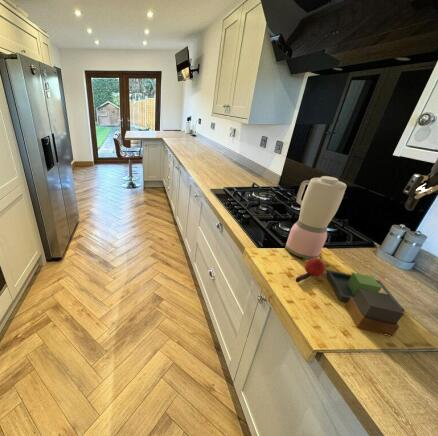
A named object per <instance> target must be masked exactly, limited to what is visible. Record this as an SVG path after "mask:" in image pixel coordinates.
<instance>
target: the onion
mask: <svg viewBox="0 0 438 436" xmlns="http://www.w3.org/2000/svg"><path fill="white" fill-rule="evenodd" d="M321 259H322V258H321V257H320V256H319V257H317V258H316V259H310V260H309V261H305V262H306V263H304V269H305V272H306V273H310V274H311V277H320V276H322V275H323V274H325V271H326V268H325V267H326V265H325V263H324V261H323V260H321Z"/></svg>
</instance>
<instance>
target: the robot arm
mask: <svg viewBox="0 0 438 436" xmlns="http://www.w3.org/2000/svg"><path fill="white" fill-rule="evenodd" d="M424 181H425V183H424ZM421 184H422V185H421ZM402 193H403V194H405V195H407V196H408V198H407V200H406V201H405V203H404V207H405V209H406V210H407V211H412V212H413V211H414V210H415V208H416V206H417V204H418V203H419V201H420V199H421V198H423V197H424V196H427V195H430V194H432V193H435V194H438V158H437V159H436V161H435V162H434V164H433V165H432V167H431V171H430V173H429V174H428V175H422V174H419V173H414V174H413V175H412V176H411V177H410V179H409V181H408V182H407V184H406V186H405V188H404V189H403V190H402Z"/></svg>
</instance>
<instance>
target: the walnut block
mask: <svg viewBox="0 0 438 436" xmlns="http://www.w3.org/2000/svg"><path fill="white" fill-rule="evenodd" d="M345 309H346V310H347V313H348V315H349V316H350V318H351V320H352V322H353V323H354V325H355V327H356V329H360V330H364V329H365V330H364V331H368V330H369V331H368V332H372V331H374V332H373V333H376V332H377V333H376V334H379V333H382V334H381V335H383V334H387V335H390V336H389V337H391V336H392V337H393V336H394V335H395V334H396V333H397V331H398V330H399V328H400V327H401V326H400V325H399V322H398V323H397V324H393V323H389V322H385V321H381V320H377V319H372V318H368V317H365V316H364V315H363V313H362V312H361V310H360V308H359V307H358V305H357V303H356V302H355V300H354V298H352V297H351V298H350V299H349V301H348V303H346V305H345ZM387 335H386V336H387Z"/></svg>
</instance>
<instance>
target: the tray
mask: <svg viewBox="0 0 438 436" xmlns="http://www.w3.org/2000/svg"><path fill="white" fill-rule="evenodd" d="M351 275H352V274H348V273H343V272H339V271H335V270H334V271H333V270H329V269H328V270H326V272H325V277H326V276H327V277H326V278H327V280H328V282H329V284H330V286H331V288H332V290H333V292H334V294H335V295H336V297H337V299H338V301H339V302H343V303H346V304H347V303H348V301H349V299H350V298H351V297H352V298H354V297H355V295H353V293H352V292H351V290H350V289H349V287H348V285H347V283H348V281H349V279H350V277H351ZM375 280H376V281H377V283H378V284H379V285H380V286H381V289H382V290H383V291H384V292H385V294H388V295H390V297H391V298H392V299H393V300H394V302H395V303H396V304H397V305H398V306H399V308H400V309H401V310H402V311H403V312H404V311H405V309H404V307H403V306H402V305H401V304H400V302H398V301H397V299H396V298H395V297H394V296H393V294H392V293H391V292H390V290H388V288H387V287H386V286H385V285H384V284H383V282H382V281H381V280H378V279H375Z"/></svg>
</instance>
